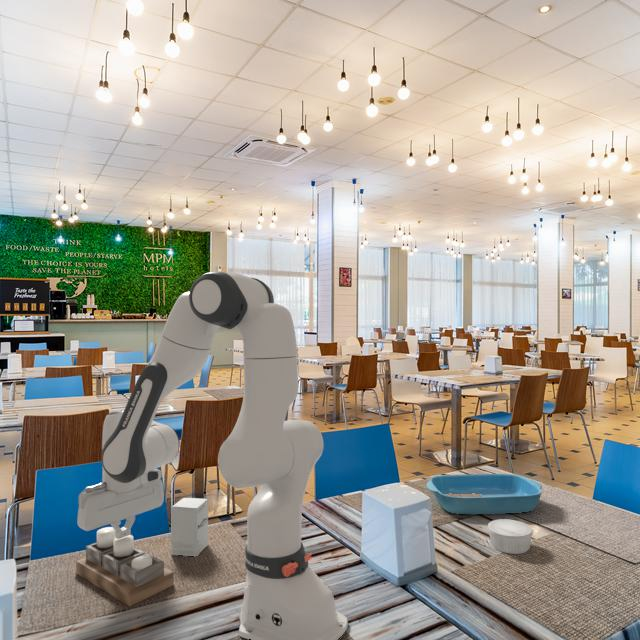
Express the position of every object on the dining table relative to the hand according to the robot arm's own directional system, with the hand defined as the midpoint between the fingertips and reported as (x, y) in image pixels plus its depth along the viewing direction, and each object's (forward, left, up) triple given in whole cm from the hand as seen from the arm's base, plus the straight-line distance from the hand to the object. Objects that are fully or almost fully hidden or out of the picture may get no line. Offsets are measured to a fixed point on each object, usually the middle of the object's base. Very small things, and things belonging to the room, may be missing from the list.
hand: (122, 536), depth 120 cm
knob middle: (0, 0, -4) cm, 4 cm away
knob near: (-8, 0, -7) cm, 10 cm away
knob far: (+7, 0, -4) cm, 8 cm away
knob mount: (0, 0, -10) cm, 10 cm away
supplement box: (0, -19, -10) cm, 22 cm away
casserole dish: (-50, -98, -11) cm, 110 cm away
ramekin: (-66, -72, -10) cm, 98 cm away
